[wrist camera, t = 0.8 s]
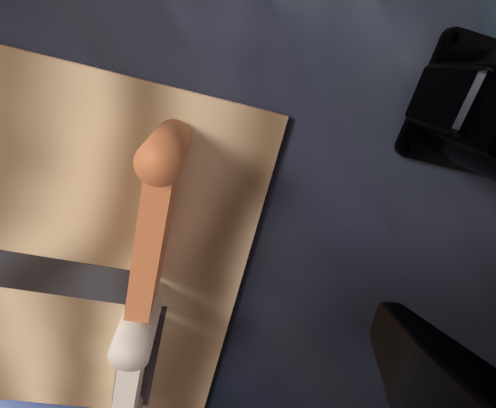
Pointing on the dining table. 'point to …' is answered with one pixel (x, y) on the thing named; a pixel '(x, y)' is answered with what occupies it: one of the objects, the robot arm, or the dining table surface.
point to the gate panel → (154, 212)
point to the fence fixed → (133, 355)
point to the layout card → (117, 228)
